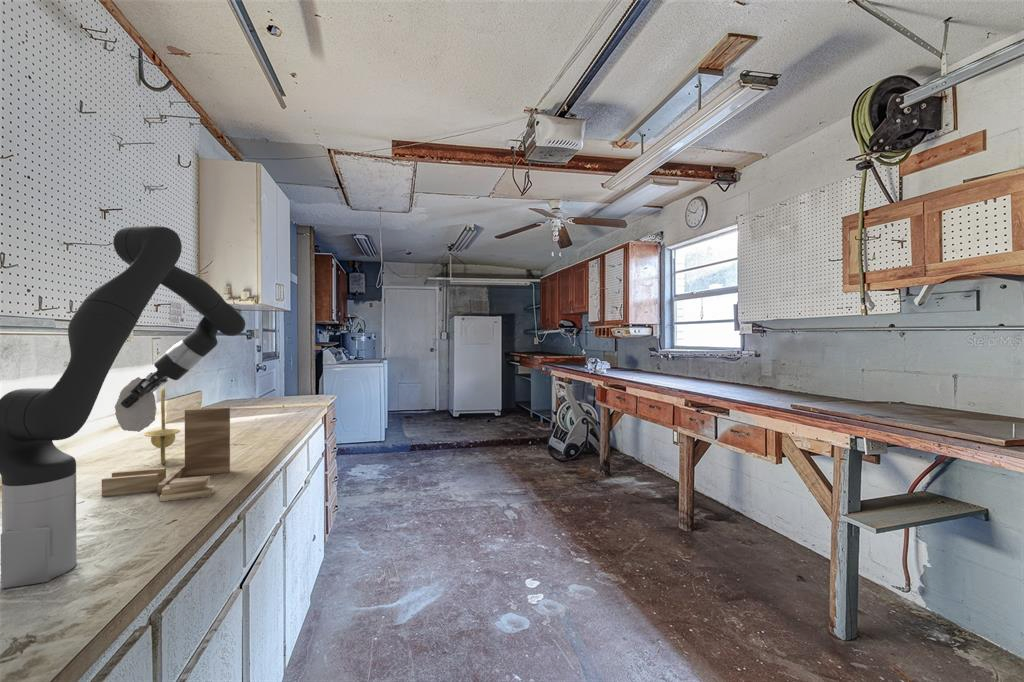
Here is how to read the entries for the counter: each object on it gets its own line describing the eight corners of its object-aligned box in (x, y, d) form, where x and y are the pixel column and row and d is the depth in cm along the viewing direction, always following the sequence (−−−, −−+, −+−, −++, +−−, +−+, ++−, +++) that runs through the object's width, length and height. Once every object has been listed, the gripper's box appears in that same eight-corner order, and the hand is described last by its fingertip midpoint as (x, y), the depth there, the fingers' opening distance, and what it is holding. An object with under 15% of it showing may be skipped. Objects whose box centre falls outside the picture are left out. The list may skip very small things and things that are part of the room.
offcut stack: (210, 496, 119) (210, 479, 119) (159, 501, 115) (159, 484, 115) (214, 490, 123) (214, 474, 123) (166, 495, 119) (166, 478, 119)
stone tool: (112, 434, 120) (112, 378, 120) (115, 432, 123) (116, 377, 123) (155, 430, 124) (156, 376, 125) (158, 429, 127) (158, 376, 127)
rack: (215, 490, 124) (215, 418, 123) (157, 496, 119) (157, 421, 119) (230, 470, 141) (230, 407, 141) (180, 475, 136) (180, 409, 136)
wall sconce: (145, 460, 152) (145, 386, 151) (180, 456, 157) (180, 385, 157) (142, 470, 141) (142, 391, 140) (180, 465, 146) (180, 389, 146)
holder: (157, 491, 123) (157, 474, 123) (101, 496, 118) (101, 479, 118) (166, 483, 129) (166, 467, 129) (113, 487, 125) (113, 471, 125)
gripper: (176, 349, 132) (124, 393, 128) (159, 351, 119) (101, 399, 115) (197, 367, 134) (147, 410, 130) (183, 370, 121) (127, 418, 117)
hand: (126, 405), depth 123 cm, fingers closed on stone tool, 2 cm apart
